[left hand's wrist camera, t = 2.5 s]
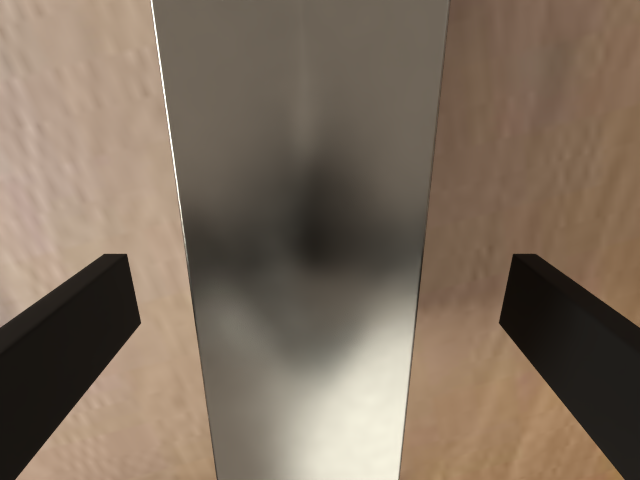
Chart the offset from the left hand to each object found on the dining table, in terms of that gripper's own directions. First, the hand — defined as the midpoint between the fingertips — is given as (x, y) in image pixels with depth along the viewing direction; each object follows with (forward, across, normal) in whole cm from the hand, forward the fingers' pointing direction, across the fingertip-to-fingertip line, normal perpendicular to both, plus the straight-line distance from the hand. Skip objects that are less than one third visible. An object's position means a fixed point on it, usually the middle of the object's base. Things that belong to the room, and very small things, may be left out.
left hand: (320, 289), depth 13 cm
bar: (+4, 0, -7) cm, 8 cm away
